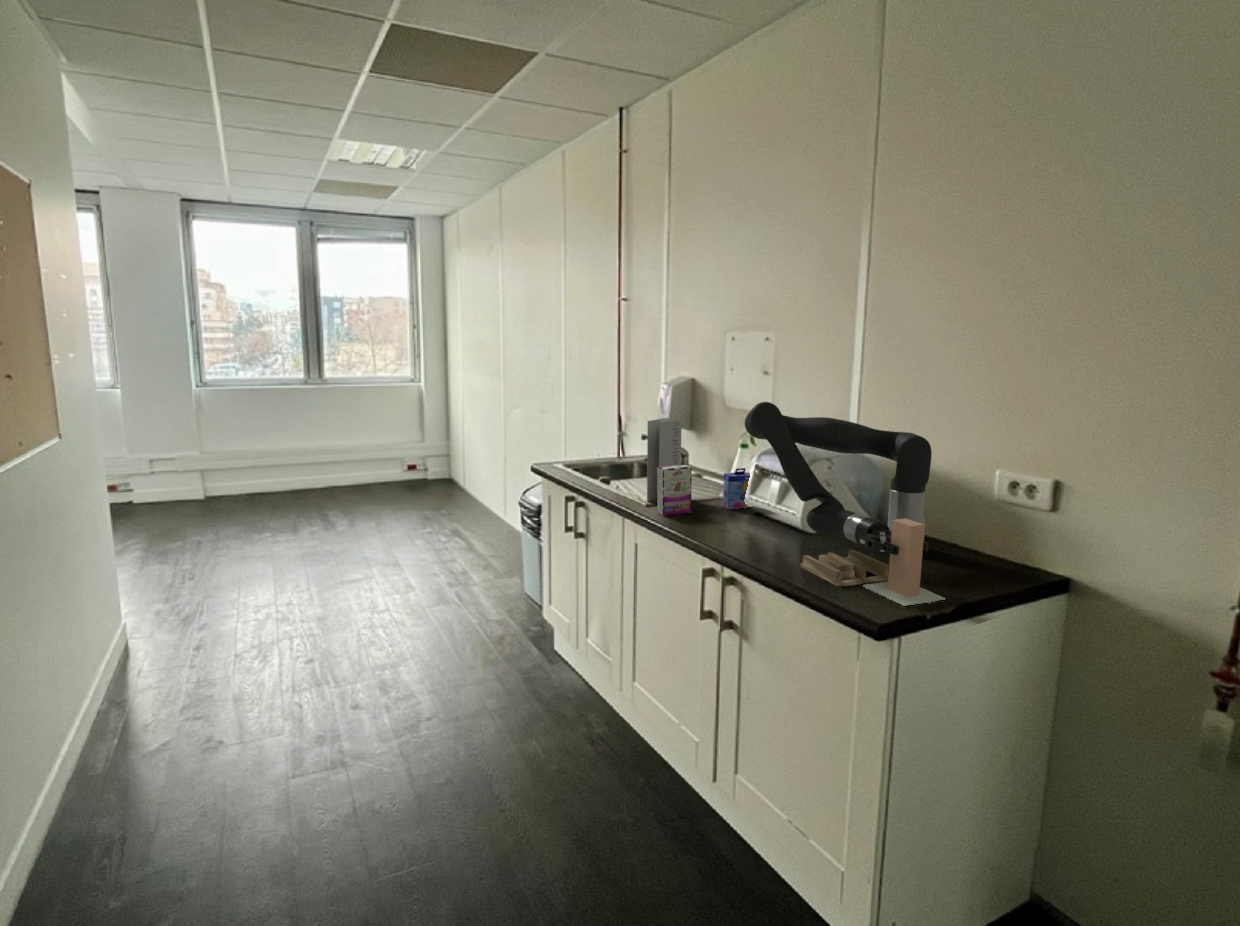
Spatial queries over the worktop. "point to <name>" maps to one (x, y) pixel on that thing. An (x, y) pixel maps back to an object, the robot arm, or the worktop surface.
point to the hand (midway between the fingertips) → (912, 549)
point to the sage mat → (923, 596)
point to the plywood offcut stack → (839, 566)
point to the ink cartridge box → (735, 489)
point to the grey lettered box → (662, 450)
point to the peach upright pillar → (906, 557)
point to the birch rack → (860, 568)
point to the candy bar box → (674, 490)
